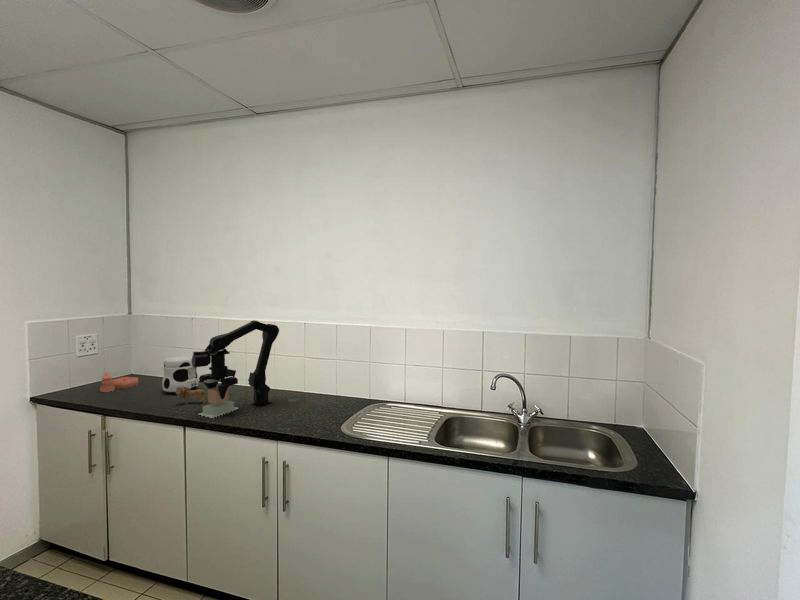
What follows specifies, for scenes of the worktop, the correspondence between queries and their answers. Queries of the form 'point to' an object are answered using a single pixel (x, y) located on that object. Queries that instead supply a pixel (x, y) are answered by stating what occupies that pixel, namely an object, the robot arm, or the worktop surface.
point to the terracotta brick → (216, 395)
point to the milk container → (179, 374)
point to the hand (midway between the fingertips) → (218, 398)
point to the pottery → (116, 383)
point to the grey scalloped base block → (218, 409)
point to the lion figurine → (190, 394)
